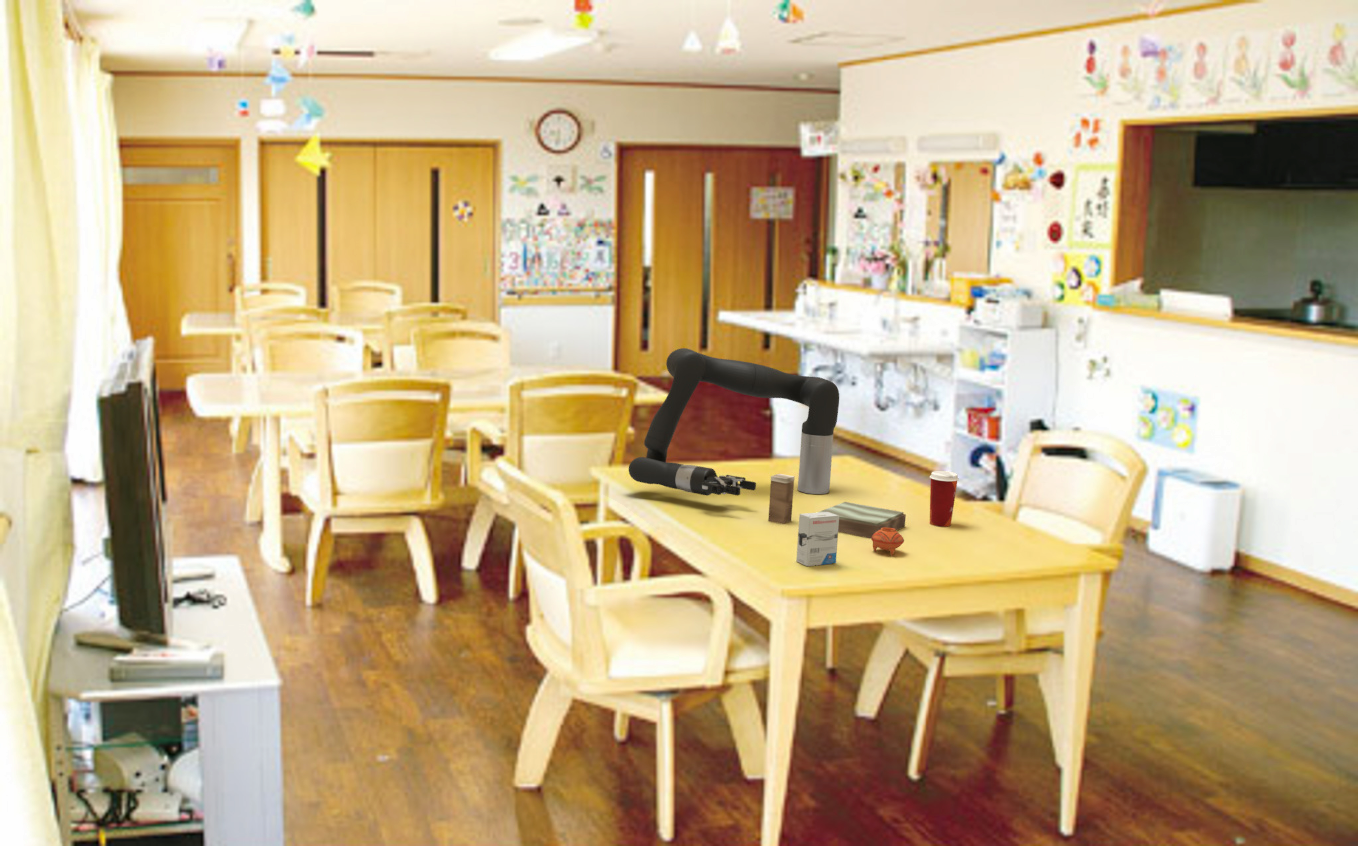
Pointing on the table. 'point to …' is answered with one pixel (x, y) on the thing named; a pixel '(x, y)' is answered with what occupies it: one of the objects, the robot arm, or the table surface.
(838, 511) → the block
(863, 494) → the table surface
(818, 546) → the ink box
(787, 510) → the block
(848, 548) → the table surface
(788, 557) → the table surface
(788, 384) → the robot arm
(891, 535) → the pot
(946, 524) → the paper cup
